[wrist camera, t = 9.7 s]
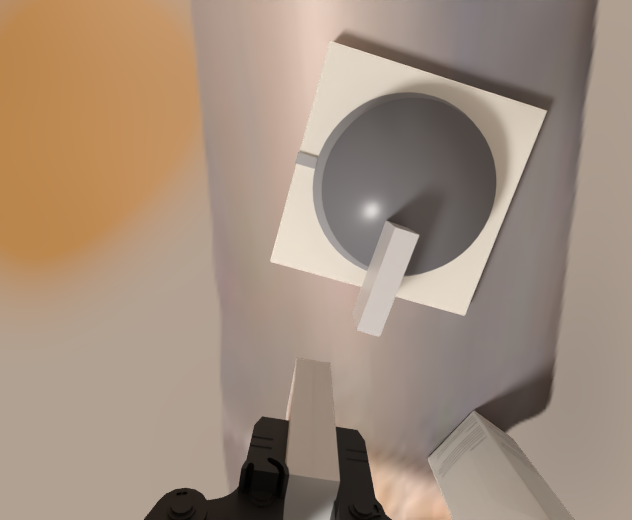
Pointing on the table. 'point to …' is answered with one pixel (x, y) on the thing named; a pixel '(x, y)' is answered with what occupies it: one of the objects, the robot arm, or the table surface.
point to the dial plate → (346, 106)
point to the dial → (406, 195)
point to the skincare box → (491, 476)
